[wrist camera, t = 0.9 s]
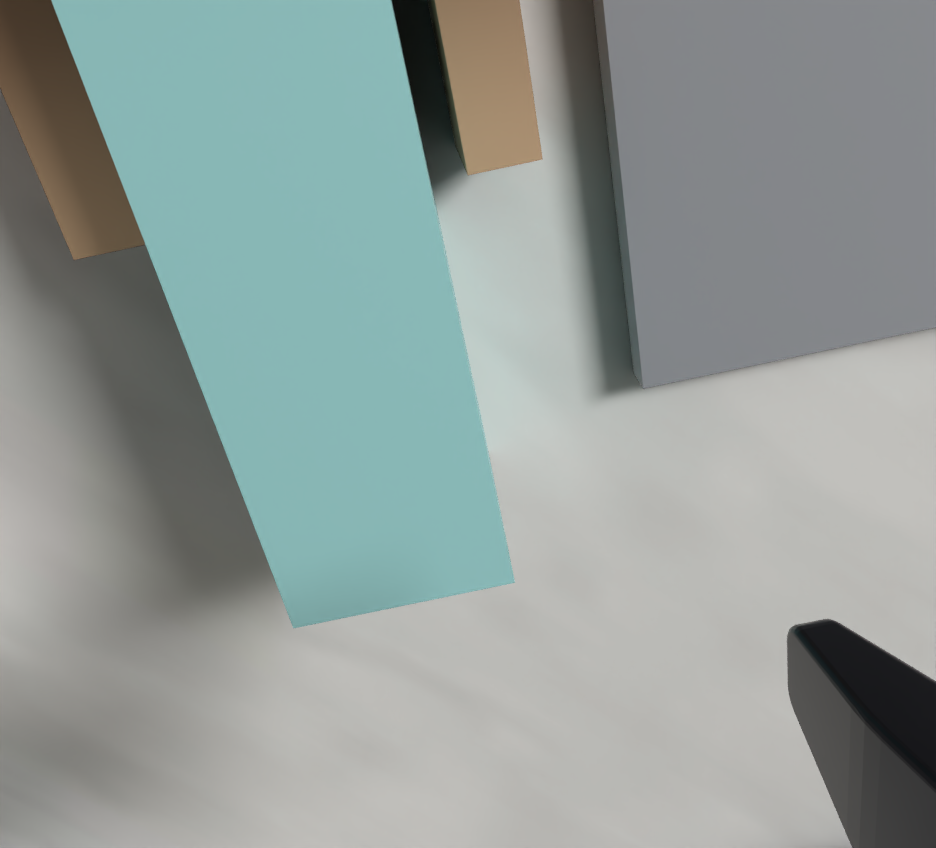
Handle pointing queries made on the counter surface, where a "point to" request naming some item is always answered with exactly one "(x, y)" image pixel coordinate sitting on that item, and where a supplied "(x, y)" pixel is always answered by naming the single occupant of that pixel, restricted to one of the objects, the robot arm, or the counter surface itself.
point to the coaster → (769, 176)
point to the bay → (94, 173)
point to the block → (305, 284)
